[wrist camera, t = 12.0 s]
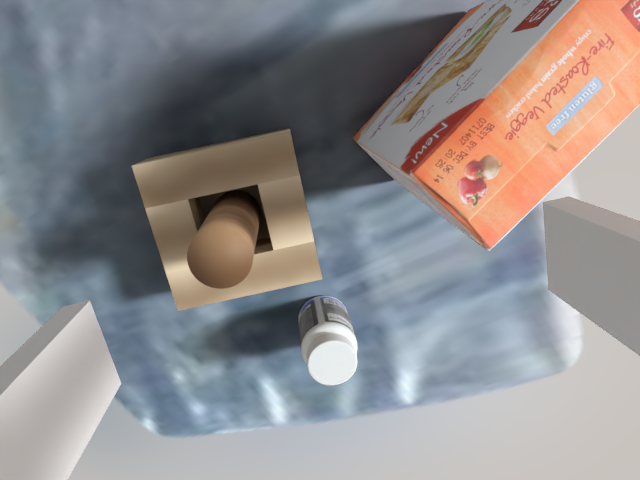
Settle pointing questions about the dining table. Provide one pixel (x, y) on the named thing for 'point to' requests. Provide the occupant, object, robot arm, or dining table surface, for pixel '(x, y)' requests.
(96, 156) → the dining table surface
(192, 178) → the bore block
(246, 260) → the pin
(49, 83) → the dining table surface
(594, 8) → the cracker box
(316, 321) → the pill bottle
